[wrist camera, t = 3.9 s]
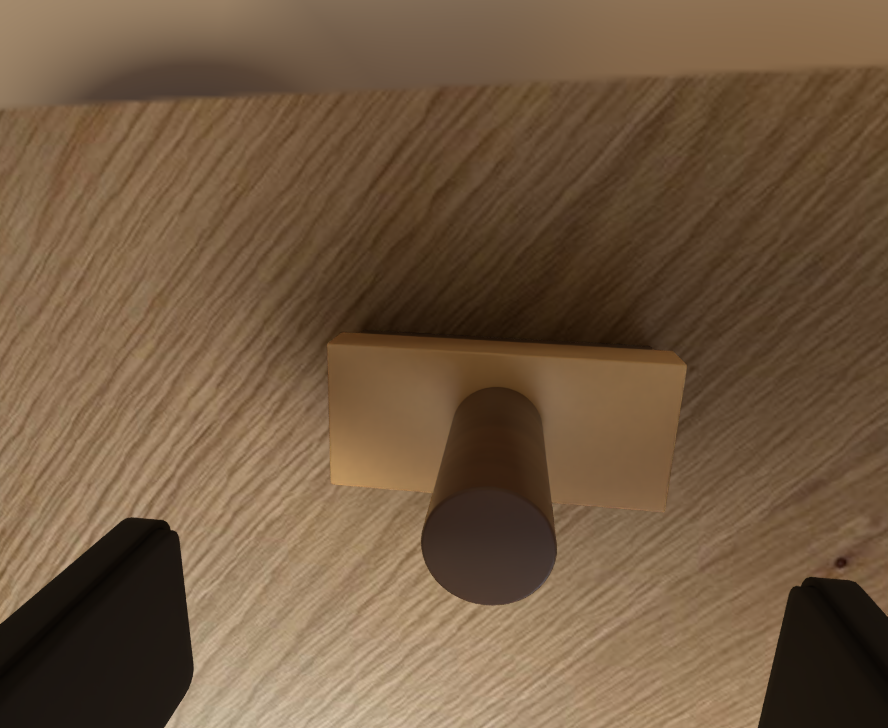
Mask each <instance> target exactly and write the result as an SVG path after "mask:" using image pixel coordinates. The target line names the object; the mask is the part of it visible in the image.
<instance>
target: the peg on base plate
mask: <svg viewBox="0 0 888 728" xmlns="http://www.w3.org/2000/svg"><path fill="white" fill-rule="evenodd" d="M327 362H328V400H329V438H330V475H331V484H334V485H346V486H358V487H370V488H382V489H393V490H405V491H417V492H429V493H433V494H432V497H431V501H430V504H429V508H428V512H427V515H426V519H425V523H424V526H423V530H422V536H421V549H422V554H423V558H424V560H425V563H426V565H427V567H428V569H429V571H430V573H431V574H432V576H433V577H434V578H435V580H436V581H437V582H438V583H439V584H440V585H441V586H442V587H443V588H445V589H446V590H447V591H449V592H450V593H451V594H453V595H455V596H457V597H459V598H461V599H463V600H466V601H468V602H472V603H476V604H481V605H504V604H509V603H513V602H516V601H519V600H521V599H524V598H526V597H527V596H529V595H531V594H532V593H534V592H535V591H536V590H537V589H539V588H540V587H541V585H542V584H543V583H544V582H545V581H546V579H547V578H548V577H549V575H550V573H551V571H552V569H553V567H554V564H555V561H556V555H557V542H556V534H555V525H554V517H553V509H552V503H559V504H571V505H583V506H595V507H607V508H619V509H630V510H642V511H654V512H664V511H665V507H666V500H667V494H668V487H669V481H670V474H671V468H672V461H673V454H674V448H675V441H676V435H677V428H678V422H679V415H680V409H681V402H682V396H683V389H684V383H685V376H686V370H687V365H686V364H685V363H684V362H683V361H682V360H681V359H680V358H679V357H678V356H677V355H676V354H675V353H674V352H673V351H662V350H653V349H652V348H651V347H650V346H640V345H622V344H604V343H587V342H569V341H551V340H534V339H516V338H498V337H481V336H463V335H445V334H428V333H410V332H392V331H374V330H362V331H361V332H360V333H347V332H342V333H340V334H339V335H338V336H336V337H335V338H334V339H333V340H331V341H330V342H329V343H328V344H327Z"/></svg>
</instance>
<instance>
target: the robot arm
mask: <svg viewBox="0 0 888 728" xmlns="http://www.w3.org/2000/svg"><path fill="white" fill-rule="evenodd" d="M193 670H194V667H193V656H192V647H191V638H190V630H189V621H188V612H187V603H186V594H185V585H184V576H183V568H182V559H181V550H180V541H179V536H178V534H177V532H175V531H173V530H170V526H169V525H168V523H167V522H166V521H164V520H155V519H144V518H132V517H131V518H126V519H124V520H123V521H121V522H120V523H119V524H118V525H116V526H115V527H114V528H113V529H112V530H111V531H109V532H108V533H107V534H106V535H105V536H104V537H102V538H101V539H100V540H99V541H98V542H96V543H95V544H94V545H93V546H92V547H91V548H89V549H88V550H87V551H86V552H85V553H84V554H82V555H81V556H80V557H79V558H78V559H77V560H75V561H74V562H73V563H72V564H71V565H69V566H68V567H67V568H66V569H65V570H64V571H62V572H61V573H60V574H59V575H58V576H57V577H55V578H54V579H53V580H52V581H51V582H49V583H48V584H47V585H46V586H45V587H44V588H42V589H41V590H40V591H39V592H38V593H37V594H35V595H34V596H33V597H32V598H31V599H29V600H28V601H27V602H26V603H25V604H24V605H22V606H21V607H20V608H19V609H18V610H17V611H15V612H14V613H13V614H12V615H11V616H10V617H8V618H7V619H6V620H5V621H4V622H2V623H1V624H0V728H164V727H165V726H166V724H167V722H168V721H169V719H170V718H171V716H172V715H173V713H174V712H175V710H176V708H177V707H178V705H179V704H180V702H181V701H182V699H183V698H184V696H185V694H186V693H187V691H188V689H189V686H190V684H191V681H192V677H193ZM758 728H888V617H887V616H886V615H885V613H884V612H883V611H882V610H881V609H880V608H879V607H878V606H877V605H876V603H875V602H874V601H873V600H872V599H871V598H870V597H869V596H868V594H867V593H866V592H865V591H864V590H863V589H862V588H861V587H860V586H859V585H858V584H857V583H856V582H853V581H850V580H840V579H829V578H817V577H809V578H806V579H805V580H804V581H803V583H802V585H801V586H795V587H793V588H792V589H791V591H790V593H789V597H788V601H787V605H786V609H785V614H784V618H783V622H782V627H781V631H780V635H779V639H778V644H777V648H776V652H775V657H774V661H773V665H772V669H771V674H770V678H769V682H768V687H767V691H766V695H765V699H764V704H763V708H762V712H761V717H760V721H759V725H758Z"/></svg>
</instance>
